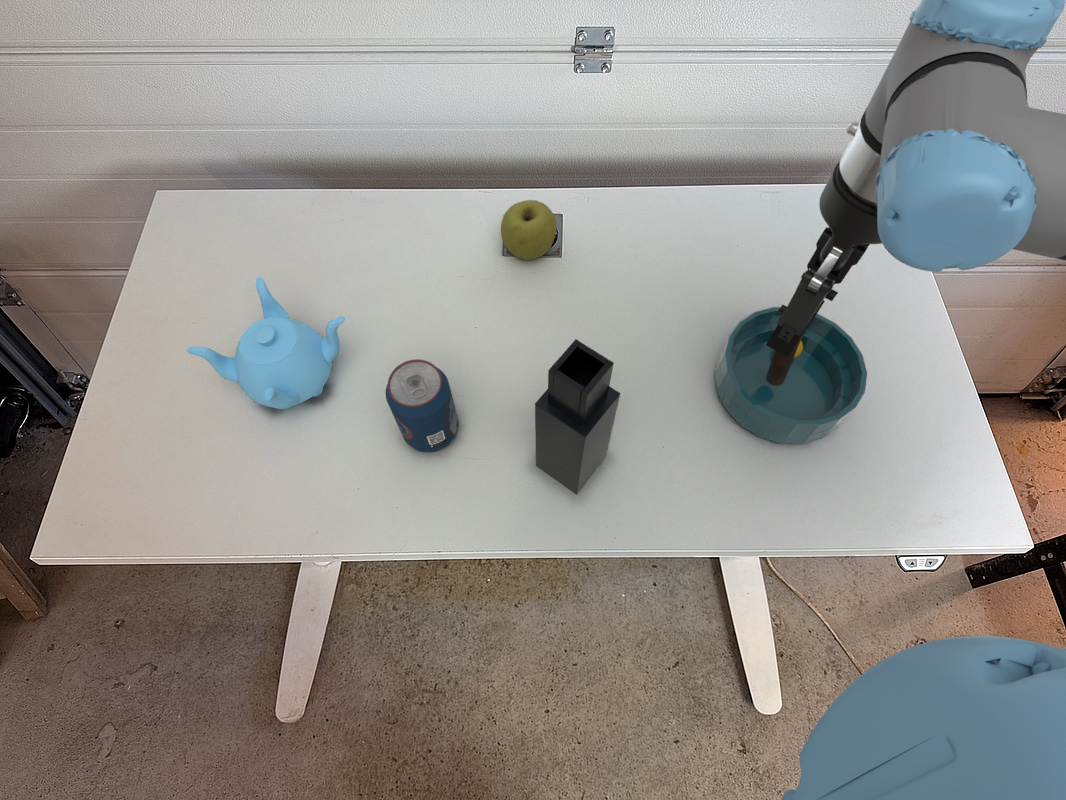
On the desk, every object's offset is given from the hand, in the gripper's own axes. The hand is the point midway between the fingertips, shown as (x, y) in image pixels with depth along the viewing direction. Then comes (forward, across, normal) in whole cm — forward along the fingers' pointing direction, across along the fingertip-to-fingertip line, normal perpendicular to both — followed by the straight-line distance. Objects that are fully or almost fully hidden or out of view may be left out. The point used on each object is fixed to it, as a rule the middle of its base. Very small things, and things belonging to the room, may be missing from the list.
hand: (784, 340), depth 72 cm
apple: (+10, 0, -37) cm, 38 cm away
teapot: (+10, +35, -48) cm, 60 cm away
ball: (+7, -6, +1) cm, 9 cm away
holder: (+10, +23, -13) cm, 28 cm away
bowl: (+10, -1, +2) cm, 10 cm away
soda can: (+10, +30, -29) cm, 43 cm away
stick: (+7, 0, +1) cm, 7 cm away
